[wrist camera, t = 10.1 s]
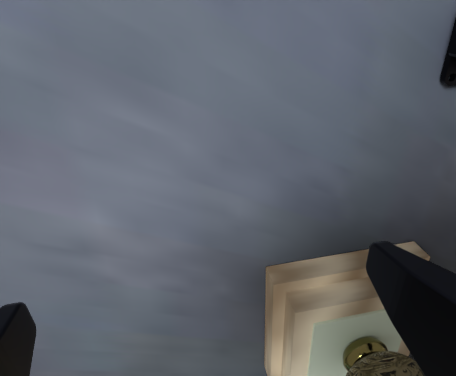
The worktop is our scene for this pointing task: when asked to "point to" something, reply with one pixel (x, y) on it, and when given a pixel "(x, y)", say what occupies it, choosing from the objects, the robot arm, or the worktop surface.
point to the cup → (377, 360)
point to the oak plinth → (323, 313)
